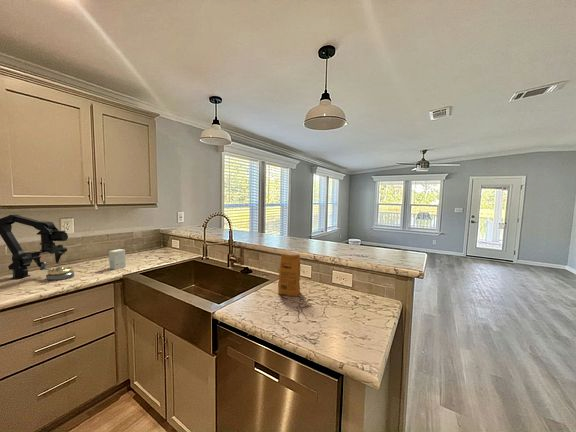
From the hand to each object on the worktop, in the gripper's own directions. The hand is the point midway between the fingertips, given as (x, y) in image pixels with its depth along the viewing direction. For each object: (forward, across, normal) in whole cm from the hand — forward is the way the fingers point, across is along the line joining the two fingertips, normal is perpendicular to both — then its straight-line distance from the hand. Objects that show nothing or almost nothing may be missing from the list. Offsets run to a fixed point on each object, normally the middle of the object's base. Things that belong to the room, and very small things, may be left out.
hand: (48, 264), depth 157 cm
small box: (+8, +30, -22) cm, 38 cm away
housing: (+8, +2, -9) cm, 12 cm away
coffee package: (+8, +24, -157) cm, 159 cm away
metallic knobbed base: (+4, -1, -7) cm, 8 cm away
